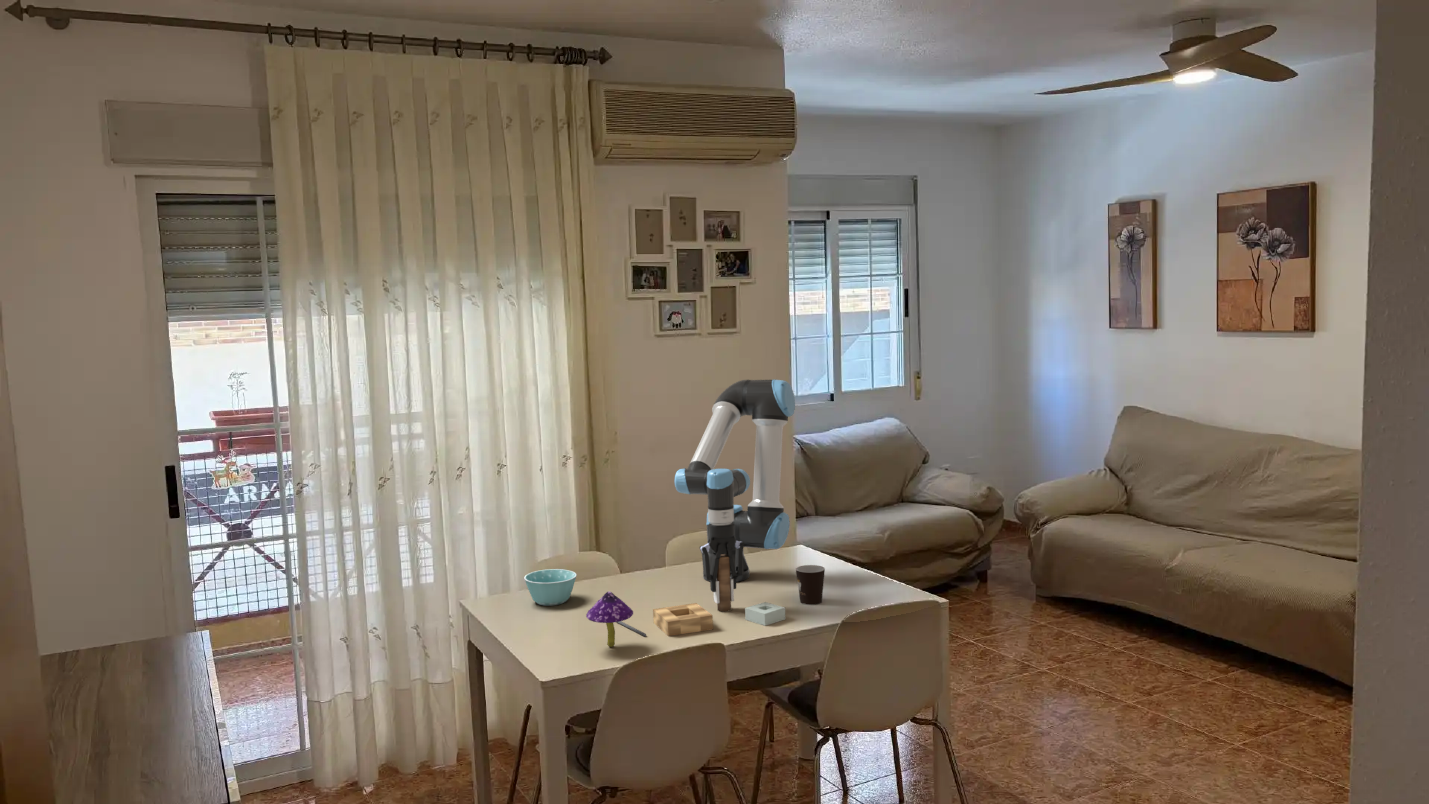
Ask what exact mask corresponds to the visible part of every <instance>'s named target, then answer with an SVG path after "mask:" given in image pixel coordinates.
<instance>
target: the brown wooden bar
mask: <svg viewBox="0 0 1429 804" xmlns="http://www.w3.org/2000/svg"><path fill="white" fill-rule="evenodd" d="M716 579H717V581H719V601H720V603H718V604H717V603H716V605H717V612H724V613H725V612H730V611H731V610H732V601H731V588H730V563H729V557H728V556H726V555H724V554H723V555H721V556H720V559H719V565H718V572H717V578H716Z"/></svg>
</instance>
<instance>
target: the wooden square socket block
mask: <svg viewBox="0 0 1429 804" xmlns="http://www.w3.org/2000/svg"><path fill="white" fill-rule="evenodd" d="M652 616H653V617H652V618H653V624H654V625H655V626H656V627H658V628H659V629H660V630H661V631H662V632H663V633H664V634H665V635H667V636H668V637H672V636H678V635H684V634H691V633H697V632H698V633H699V632H704V631H710V630H713V629H714V623H713V622H714V621H713V620H714V619H713V614H711V613H710V612H709V611H707V610H706V609H705V608H704V607H703V606H701V605H699V604H698V603H697V602H694V603H693V602H692V603H687V604H679V605H673V606H667V607H659V608H653V609H652Z"/></svg>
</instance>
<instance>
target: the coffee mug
mask: <svg viewBox="0 0 1429 804" xmlns="http://www.w3.org/2000/svg"><path fill="white" fill-rule="evenodd" d="M825 570H826V568H825V567H823V565H822V566H821V565H817V564H805V565H798V566H796V567H795V574H796V581H797V588H798V594H799V602H800V603H801V604H802V605H811V606H814V605H819V604H822V602H823V593H824V592H823V591H824V580H825Z"/></svg>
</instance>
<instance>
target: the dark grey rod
mask: <svg viewBox="0 0 1429 804" xmlns="http://www.w3.org/2000/svg"><path fill="white" fill-rule="evenodd" d="M616 623H618V624H619V625H621V626H623V627H625V628H627V629H629V630H631V631H633V632H635V633H636V634H638V635H641V636H643V637H647V634H646V633H645V632H643V631H641V630H639V629H637V628H635V627H633V626H631V625H630V624H627V623H625V622H623V621H620V622H616Z"/></svg>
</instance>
